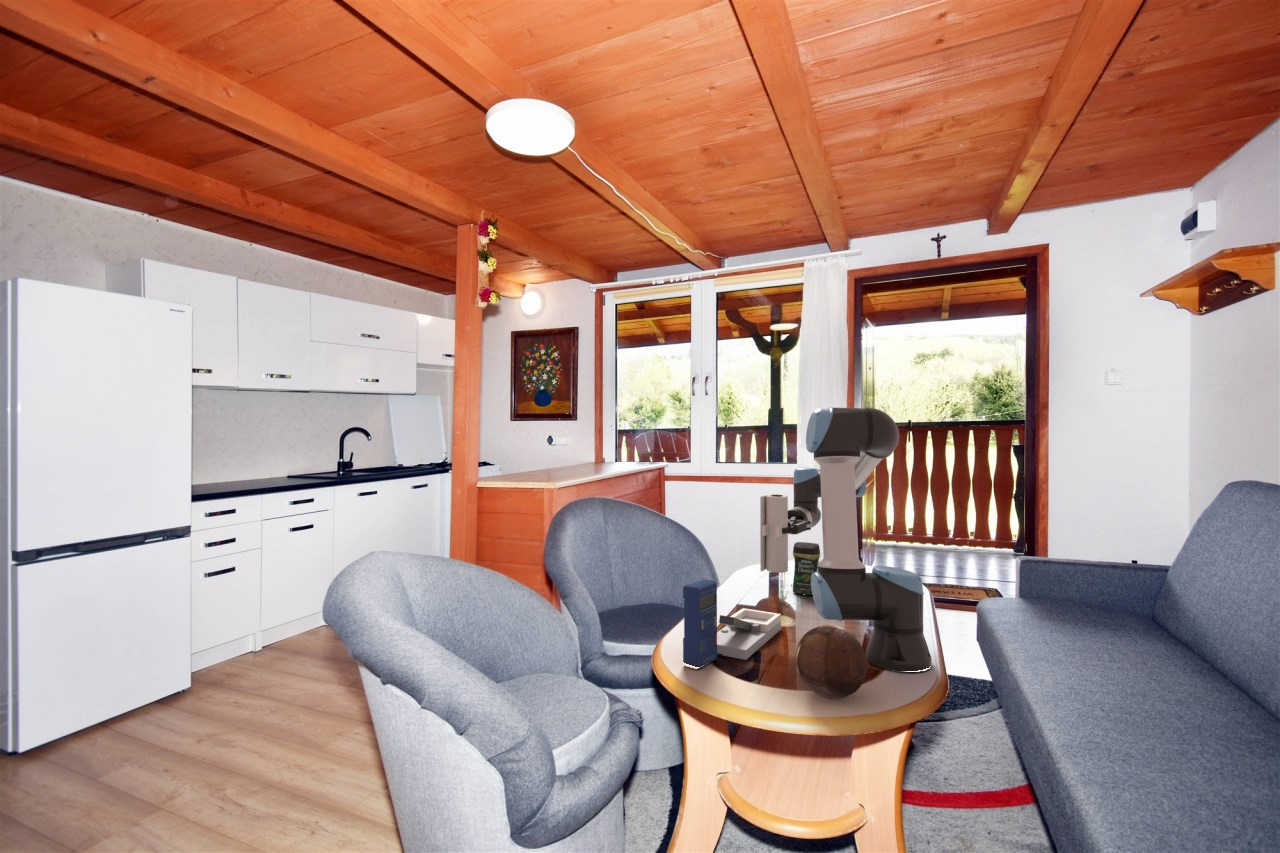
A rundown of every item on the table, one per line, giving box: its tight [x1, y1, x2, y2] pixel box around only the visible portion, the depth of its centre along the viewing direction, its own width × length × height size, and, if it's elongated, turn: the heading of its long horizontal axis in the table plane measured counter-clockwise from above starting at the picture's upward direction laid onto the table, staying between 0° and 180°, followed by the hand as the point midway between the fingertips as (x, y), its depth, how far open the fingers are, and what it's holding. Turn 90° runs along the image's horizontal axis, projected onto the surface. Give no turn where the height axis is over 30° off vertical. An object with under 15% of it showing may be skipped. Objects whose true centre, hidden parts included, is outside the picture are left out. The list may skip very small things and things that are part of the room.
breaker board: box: [717, 607, 782, 661], centre depth 167 cm, size 28×12×4 cm, turn 149°
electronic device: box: [682, 578, 718, 667], centre depth 150 cm, size 10×5×20 cm, turn 143°
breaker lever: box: [718, 614, 752, 631], centre depth 163 cm, size 2×5×15 cm
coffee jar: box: [792, 541, 821, 596], centre depth 217 cm, size 10×8×19 cm
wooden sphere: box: [795, 624, 868, 700], centre depth 131 cm, size 15×15×15 cm
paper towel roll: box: [759, 494, 789, 574], centre depth 169 cm, size 7×6×21 cm
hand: (769, 531), depth 164 cm, fingers closed on paper towel roll, 3 cm apart
